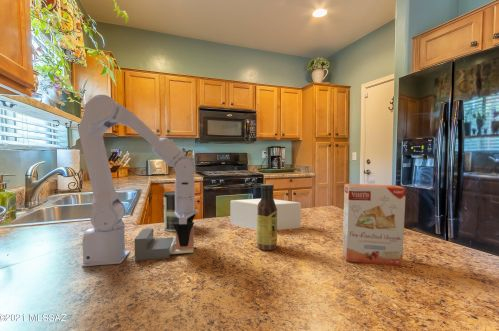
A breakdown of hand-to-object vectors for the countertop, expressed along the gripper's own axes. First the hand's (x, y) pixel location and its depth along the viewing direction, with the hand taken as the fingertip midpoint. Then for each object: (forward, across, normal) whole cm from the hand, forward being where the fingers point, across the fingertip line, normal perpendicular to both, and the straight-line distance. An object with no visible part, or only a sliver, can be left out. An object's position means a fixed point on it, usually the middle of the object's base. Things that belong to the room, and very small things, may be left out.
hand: (185, 241), depth 70 cm
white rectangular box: (+3, +20, -30) cm, 36 cm away
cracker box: (+3, -16, -51) cm, 54 cm away
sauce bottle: (+3, -2, -25) cm, 25 cm away
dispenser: (+3, 0, +8) cm, 9 cm away
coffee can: (+3, +24, +5) cm, 25 cm away
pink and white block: (+2, 0, +5) cm, 6 cm away
